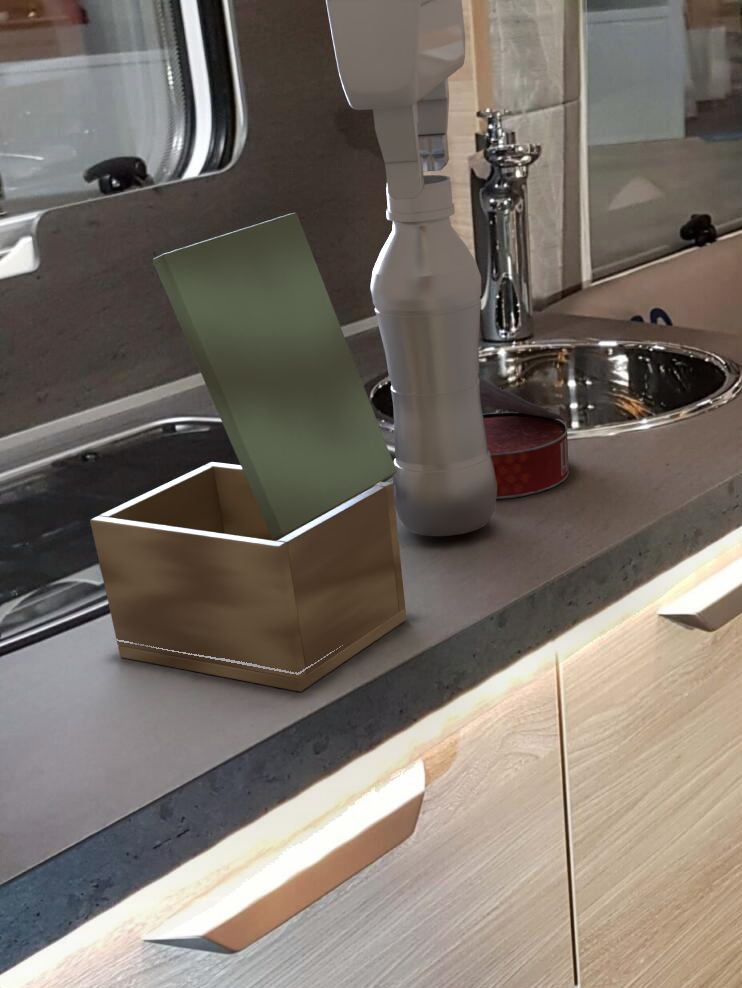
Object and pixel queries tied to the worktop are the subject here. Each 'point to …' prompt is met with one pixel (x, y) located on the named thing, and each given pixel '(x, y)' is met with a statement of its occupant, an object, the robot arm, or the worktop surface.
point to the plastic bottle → (434, 366)
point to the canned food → (523, 443)
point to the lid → (277, 369)
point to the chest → (248, 579)
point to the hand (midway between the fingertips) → (420, 182)
